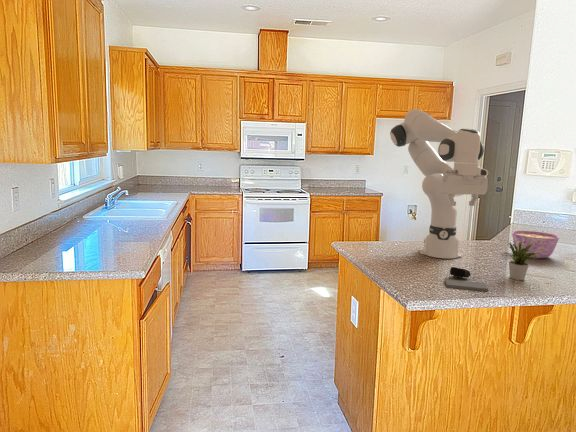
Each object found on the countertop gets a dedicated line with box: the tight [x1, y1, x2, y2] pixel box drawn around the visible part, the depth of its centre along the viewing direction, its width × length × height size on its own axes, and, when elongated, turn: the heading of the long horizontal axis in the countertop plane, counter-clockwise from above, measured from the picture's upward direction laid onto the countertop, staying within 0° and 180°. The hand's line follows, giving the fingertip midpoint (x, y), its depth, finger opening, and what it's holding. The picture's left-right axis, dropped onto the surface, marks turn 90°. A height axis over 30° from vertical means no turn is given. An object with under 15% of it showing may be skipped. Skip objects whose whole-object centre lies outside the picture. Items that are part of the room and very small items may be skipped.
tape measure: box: [449, 266, 472, 279], centre depth 168 cm, size 7×7×4 cm
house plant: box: [499, 239, 537, 281], centre depth 170 cm, size 14×14×16 cm
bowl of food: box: [511, 230, 560, 259], centre depth 208 cm, size 20×20×12 cm
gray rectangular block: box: [444, 278, 489, 292], centre depth 158 cm, size 8×14×1 cm, turn 75°
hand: (462, 205), depth 169 cm, fingers open, 8 cm apart
